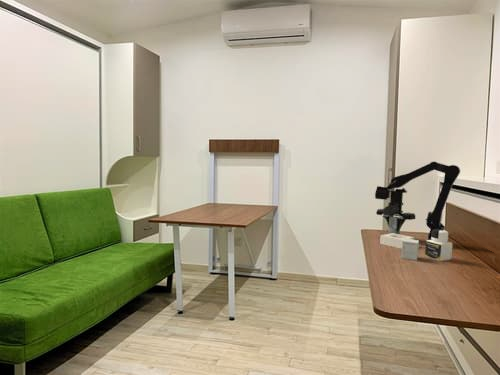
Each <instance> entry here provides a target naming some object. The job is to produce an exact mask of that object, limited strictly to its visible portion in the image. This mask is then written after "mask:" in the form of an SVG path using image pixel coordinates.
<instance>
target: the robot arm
mask: <svg viewBox="0 0 500 375" xmlns="http://www.w3.org/2000/svg"><path fill="white" fill-rule="evenodd" d="M432 171H437V172H440V173H443V174H444V175H443V176H444V179H443V184H442V187H441V190H440V192H439V195H438V197H437V200H436V204H435V206H434V209H433V210H432V211H428V212H427V213H428V214H427V216H426V219H425V223H426V226H427V227H428V228H429V232H428V236H427V240H432V239H431V235H432V230H434V229H441V230H446V226H445V225H444V224H443V223H442V219H443V211H444V209H445V205H446V203H447V200H448V198H449V195H450V192H451V191H452V187H453V185H454V184H455V182H456V180H457V178H458V177H459V175H460V173H461V168H460V167H459V166H458V165H455V164H450V165H447V164H443V163H439V162H437V161H431V162H430V163H428V164H425V165H424V166H421V167H418V168H417V169H415V170H413V171H410V172H408V173H405V174H401V175H398V176H397V175H396V176H394V177H393V178H391V179H390V183H389V184H388V185H387V187H386V186H379V185H378V186H376V190H375V193H374V197H375V199H376V200H382V201H383V200H384V201H386V200H387V201H388V200H389V199H390V200H389V201H390V202H388V205H387V206H385V207H384V208H377V210H376V215H378V216H382V218H384V219H385V221H386V222H387V226H388V227H389V217H393V216H394V217H399V218H397V220H398V226H397V231H399V230H400V231H401V229H402V226H403V225H404V223H405V222H406V221H408V220H409V221H410V220H415V219H416V214H415V213H414V212H413V213H412V212H404V211H403V210H402V209H403V205H404V202H403V196H404V193H405V194H406V193H408V191H407V189H406V188H405V187H403V186H405V185H407V184H408V183H409V182H411V181H412V180H413V181H414V180H415V179H416V178H419V177H422V176H423V175H425V174H428V173H430V172H432ZM393 189H394V190H393Z"/></svg>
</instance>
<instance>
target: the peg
mask: <svg viewBox="0 0 500 375" xmlns="http://www.w3.org/2000/svg"><path fill="white" fill-rule="evenodd" d="M397 218H399V216H393V217H389V226H388V233H387V234H391V233H395V234H400V235H401V233H400V232H401V229H400V230H399V231H397V226H398V220H397Z"/></svg>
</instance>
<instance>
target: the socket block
mask: <svg viewBox="0 0 500 375" xmlns="http://www.w3.org/2000/svg"><path fill="white" fill-rule="evenodd" d="M404 238H405V239H413V240H415V237H414V236H408V235H404V234H401V233H400V234H395V233H391V234H388V233H387V234H380V242H379V244H380V245H385V246H389V247H392V248H397V249H401V250H402V242H403V239H404Z"/></svg>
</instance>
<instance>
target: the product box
mask: <svg viewBox="0 0 500 375" xmlns="http://www.w3.org/2000/svg"><path fill="white" fill-rule="evenodd" d="M419 245H420V240H418V239H414V240H413V239H405V238H404V239H403V242H402V249H401V254H400V255H401V256H400V258H401V259H405V260H406V259H407V260H413V261H418V256H419V255H418V254H419Z"/></svg>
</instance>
